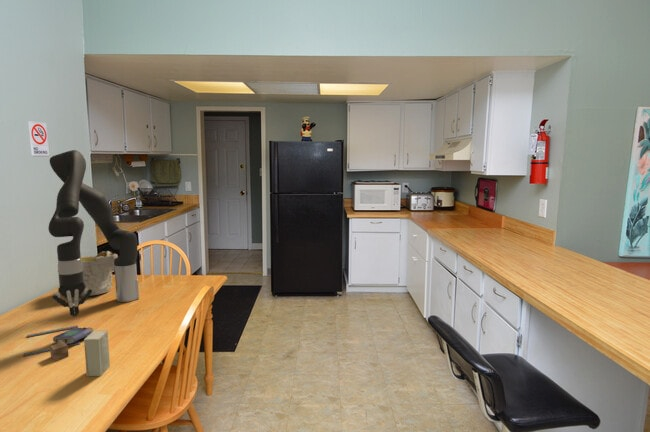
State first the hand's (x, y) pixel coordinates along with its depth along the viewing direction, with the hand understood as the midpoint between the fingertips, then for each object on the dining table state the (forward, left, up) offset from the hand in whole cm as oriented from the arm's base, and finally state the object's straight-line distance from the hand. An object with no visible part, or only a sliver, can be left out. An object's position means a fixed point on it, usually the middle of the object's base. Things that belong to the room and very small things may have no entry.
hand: (74, 315), depth 144 cm
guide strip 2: (+7, +8, -8) cm, 14 cm away
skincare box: (-5, +34, -8) cm, 35 cm away
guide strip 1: (+7, -9, -8) cm, 14 cm away
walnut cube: (+5, +16, -8) cm, 18 cm away
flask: (-3, +1, -6) cm, 7 cm away
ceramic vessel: (-9, -55, -8) cm, 56 cm away
